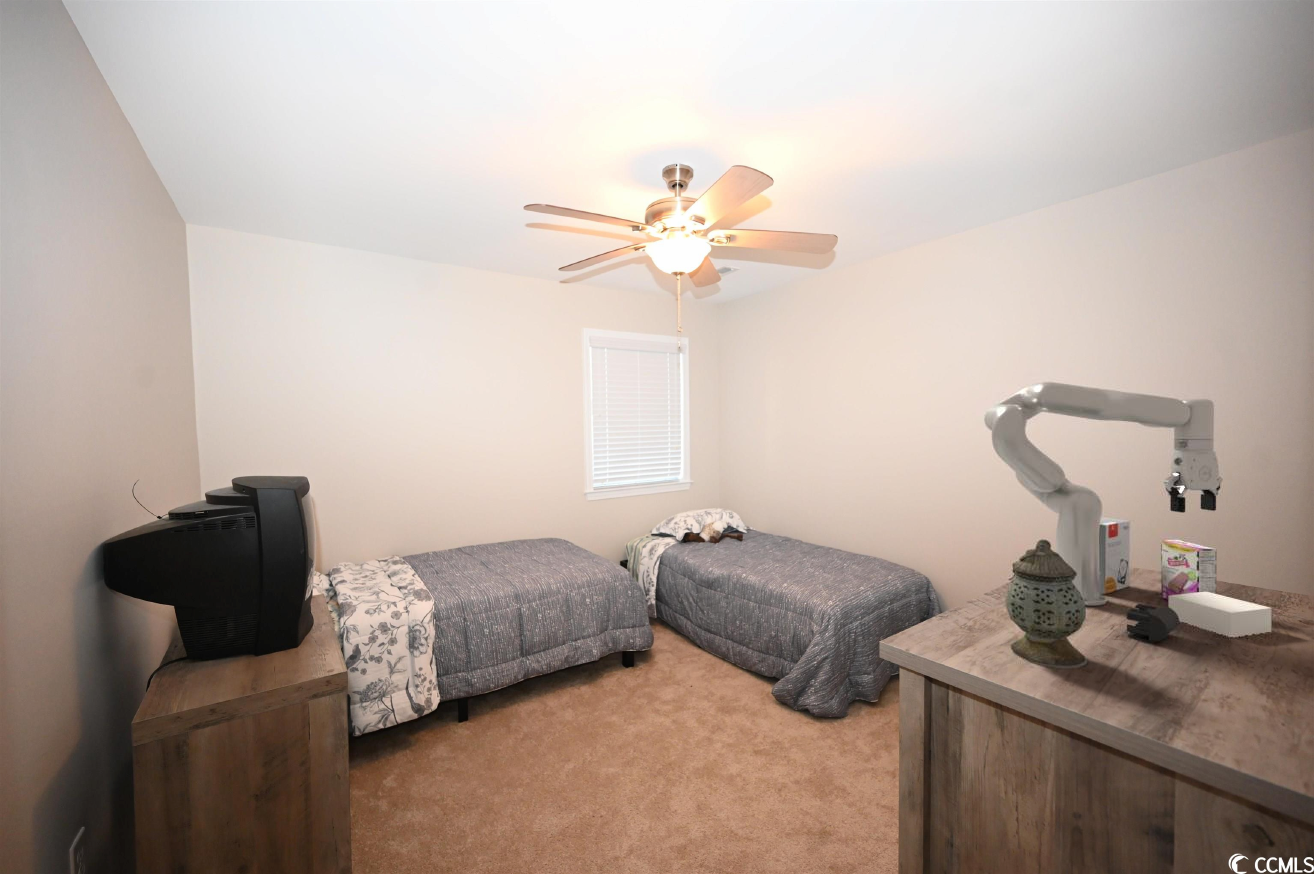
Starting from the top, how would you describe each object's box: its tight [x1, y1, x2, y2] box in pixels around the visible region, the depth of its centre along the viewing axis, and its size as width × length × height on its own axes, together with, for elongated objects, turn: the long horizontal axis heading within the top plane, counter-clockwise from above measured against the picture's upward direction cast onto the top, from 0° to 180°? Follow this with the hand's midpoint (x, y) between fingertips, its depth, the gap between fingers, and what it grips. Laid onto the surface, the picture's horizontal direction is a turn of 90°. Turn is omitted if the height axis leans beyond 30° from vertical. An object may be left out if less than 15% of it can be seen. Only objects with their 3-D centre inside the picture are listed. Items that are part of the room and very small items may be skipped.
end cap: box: [1126, 603, 1180, 644], centre depth 129 cm, size 10×7×7 cm
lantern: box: [1005, 539, 1088, 670], centre depth 121 cm, size 14×14×25 cm
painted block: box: [1168, 592, 1272, 638], centre depth 135 cm, size 12×13×6 cm
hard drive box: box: [1099, 516, 1131, 595], centre depth 165 cm, size 16×8×20 cm, turn 119°
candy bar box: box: [1160, 539, 1217, 602], centre depth 149 cm, size 11×5×16 cm, turn 179°
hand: (1193, 510), depth 148 cm, fingers open, 9 cm apart
